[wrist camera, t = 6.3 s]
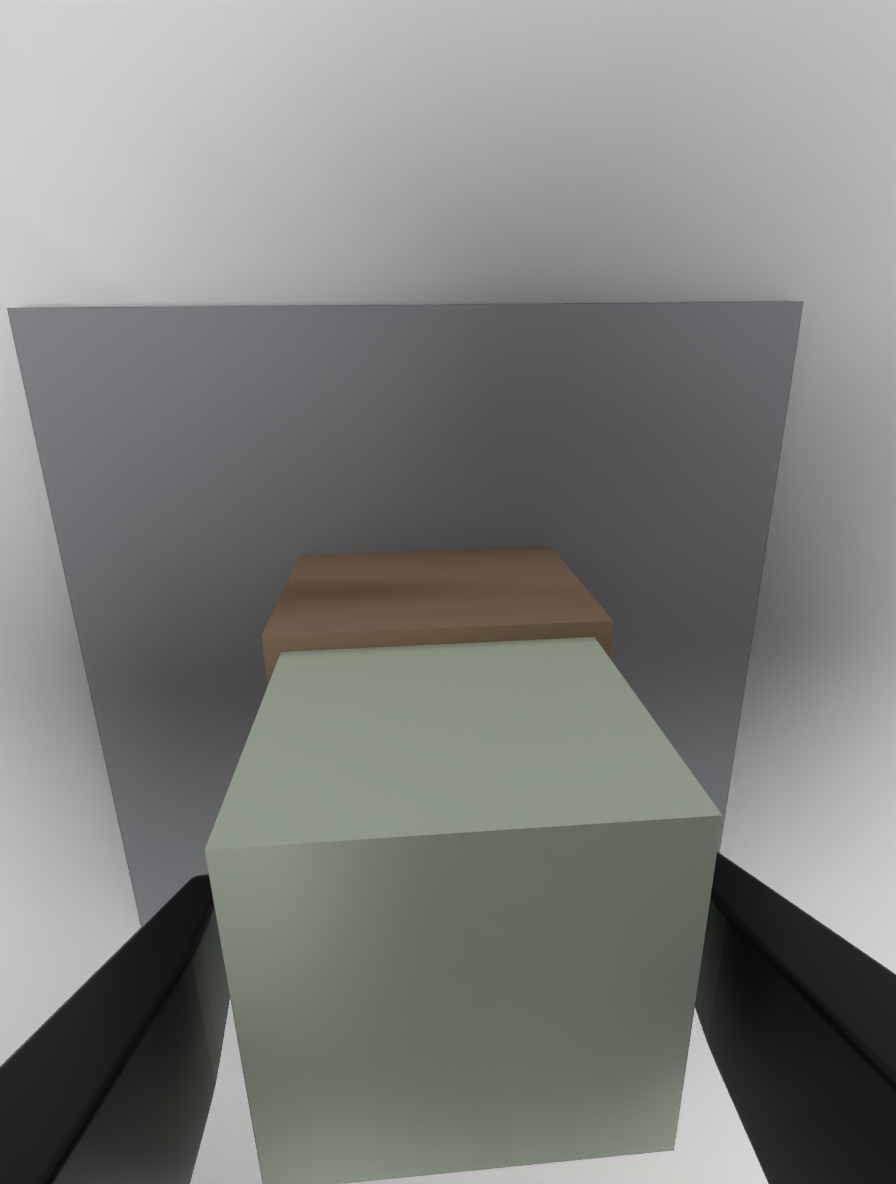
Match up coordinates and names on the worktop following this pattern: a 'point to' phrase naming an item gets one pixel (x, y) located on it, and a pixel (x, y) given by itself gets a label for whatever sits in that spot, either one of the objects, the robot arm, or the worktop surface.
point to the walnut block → (431, 601)
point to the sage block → (459, 911)
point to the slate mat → (393, 501)
